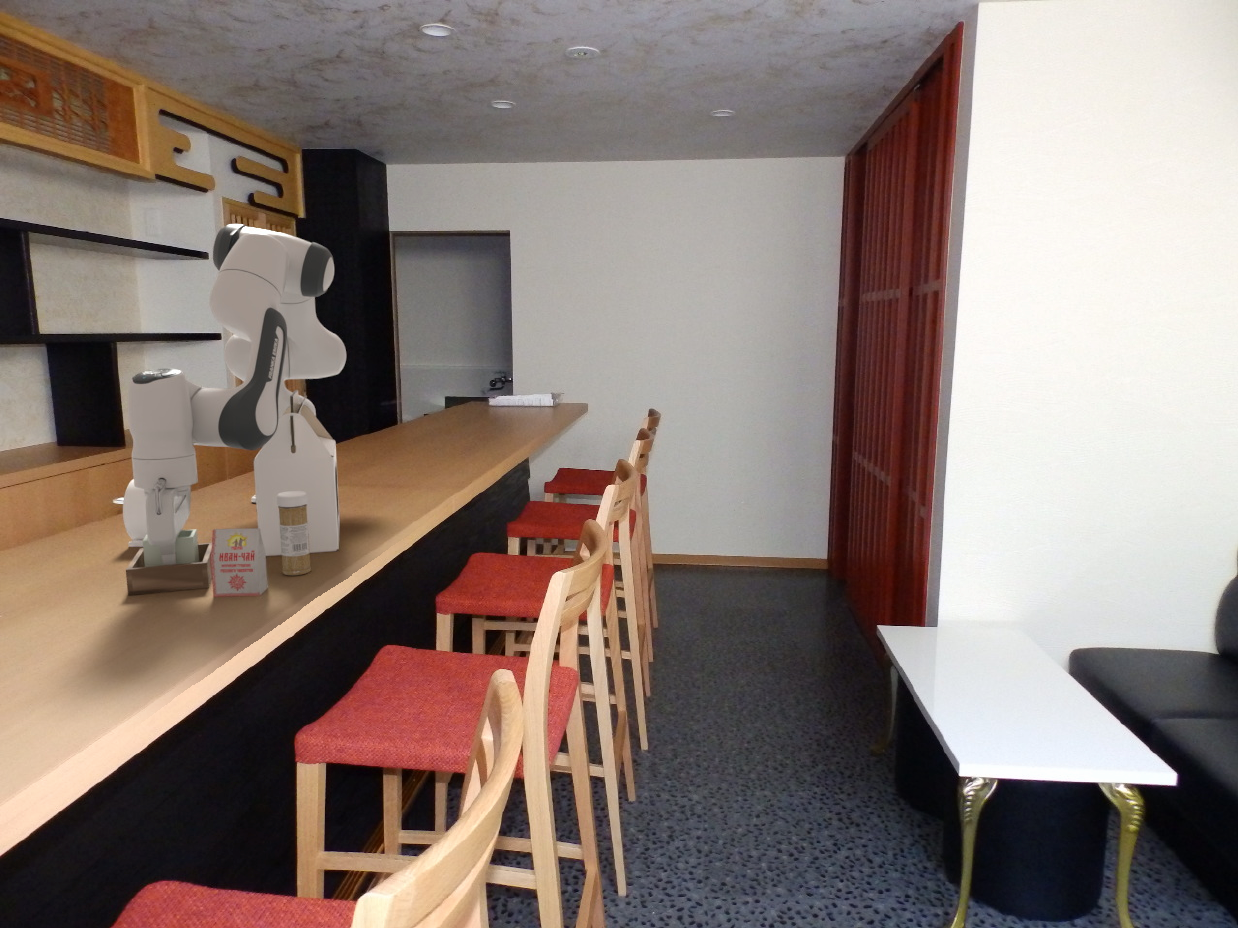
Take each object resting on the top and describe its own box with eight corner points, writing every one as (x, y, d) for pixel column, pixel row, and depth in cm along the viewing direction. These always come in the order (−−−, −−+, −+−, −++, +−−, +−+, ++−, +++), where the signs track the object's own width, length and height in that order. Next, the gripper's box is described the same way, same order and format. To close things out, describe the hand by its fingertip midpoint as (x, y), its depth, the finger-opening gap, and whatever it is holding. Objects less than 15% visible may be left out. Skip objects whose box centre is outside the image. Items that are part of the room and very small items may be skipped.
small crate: (145, 578, 130) (142, 540, 129) (151, 568, 135) (148, 532, 134) (195, 573, 133) (192, 537, 132) (199, 564, 138) (196, 529, 137)
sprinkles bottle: (309, 567, 142) (305, 489, 139) (312, 574, 138) (308, 494, 135) (280, 570, 140) (275, 491, 137) (282, 577, 136) (277, 496, 133)
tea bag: (222, 589, 130) (217, 526, 128) (267, 588, 130) (263, 525, 129) (213, 596, 126) (208, 532, 125) (259, 595, 127) (255, 531, 125)
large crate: (142, 571, 138) (140, 548, 138) (215, 565, 142) (214, 542, 142) (128, 595, 126) (125, 569, 126) (208, 587, 130) (206, 562, 130)
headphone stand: (166, 539, 159) (161, 477, 157) (152, 547, 153) (146, 483, 151) (140, 539, 159) (135, 477, 157) (125, 548, 153) (119, 483, 151)
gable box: (338, 551, 152) (330, 397, 147) (259, 557, 148) (248, 398, 143) (339, 524, 172) (332, 388, 168) (270, 528, 168) (261, 389, 164)
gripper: (179, 484, 123) (187, 574, 125) (194, 462, 142) (201, 541, 144) (131, 486, 121) (139, 579, 123) (152, 464, 140) (159, 544, 142)
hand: (173, 558), depth 134 cm, fingers closed on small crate, 5 cm apart
